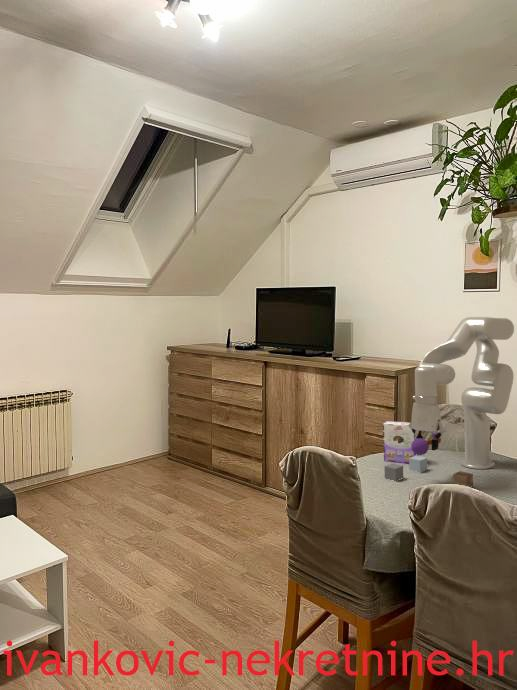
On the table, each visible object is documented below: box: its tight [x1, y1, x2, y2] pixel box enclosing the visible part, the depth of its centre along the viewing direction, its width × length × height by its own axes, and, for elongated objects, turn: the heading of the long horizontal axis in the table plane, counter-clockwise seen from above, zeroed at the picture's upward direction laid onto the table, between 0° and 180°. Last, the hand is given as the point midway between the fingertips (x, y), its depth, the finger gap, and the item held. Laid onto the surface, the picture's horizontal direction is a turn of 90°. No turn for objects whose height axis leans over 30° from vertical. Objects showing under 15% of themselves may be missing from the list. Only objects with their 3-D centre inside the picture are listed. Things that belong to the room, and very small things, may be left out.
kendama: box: [411, 436, 442, 456], centre depth 206 cm, size 6×6×20 cm
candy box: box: [382, 420, 420, 464], centre depth 234 cm, size 14×6×16 cm, turn 59°
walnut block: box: [452, 470, 474, 487], centre depth 200 cm, size 5×5×5 cm
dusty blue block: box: [408, 455, 428, 473], centre depth 222 cm, size 5×5×5 cm
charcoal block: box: [384, 462, 404, 482], centre depth 213 cm, size 5×5×5 cm
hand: (427, 447), depth 206 cm, fingers closed on kendama, 5 cm apart
